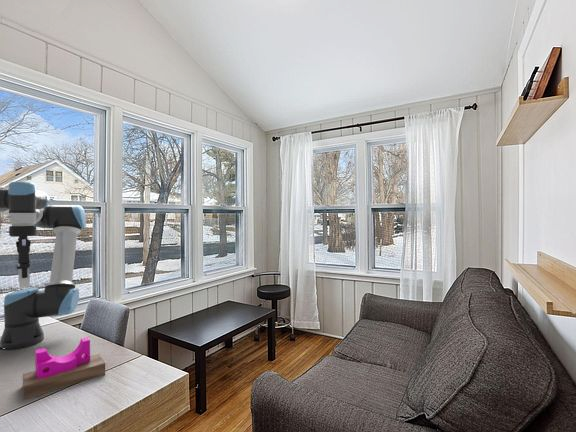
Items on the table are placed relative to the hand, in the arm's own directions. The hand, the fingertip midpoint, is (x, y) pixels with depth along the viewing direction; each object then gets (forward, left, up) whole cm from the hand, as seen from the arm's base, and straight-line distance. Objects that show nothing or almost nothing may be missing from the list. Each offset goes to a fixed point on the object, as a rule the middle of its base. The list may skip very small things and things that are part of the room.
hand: (24, 284), depth 113 cm
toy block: (+16, +10, -28) cm, 34 cm away
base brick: (+17, +10, -32) cm, 37 cm away
